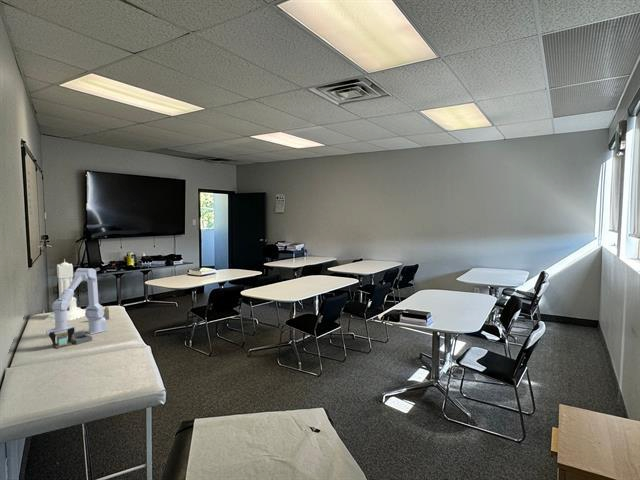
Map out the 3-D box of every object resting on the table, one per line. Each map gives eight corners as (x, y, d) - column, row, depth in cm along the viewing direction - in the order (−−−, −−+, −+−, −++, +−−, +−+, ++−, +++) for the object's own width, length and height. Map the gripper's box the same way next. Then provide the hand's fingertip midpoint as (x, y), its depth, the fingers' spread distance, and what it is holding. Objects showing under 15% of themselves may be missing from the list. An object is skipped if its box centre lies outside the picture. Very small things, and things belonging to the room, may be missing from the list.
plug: (64, 343, 216) (64, 334, 215) (67, 345, 213) (66, 336, 213) (57, 345, 213) (56, 336, 212) (59, 347, 210) (58, 338, 210)
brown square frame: (67, 342, 218) (67, 340, 218) (71, 345, 214) (71, 343, 214) (52, 345, 212) (52, 344, 212) (57, 348, 208) (56, 347, 208)
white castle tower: (93, 316, 274) (90, 258, 271) (47, 324, 254) (43, 261, 251) (84, 309, 294) (82, 255, 291) (41, 316, 274) (38, 257, 271)
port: (83, 336, 229) (83, 330, 229) (92, 340, 221) (91, 334, 221) (68, 339, 222) (68, 333, 222) (76, 344, 215) (76, 338, 214)
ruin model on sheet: (109, 319, 269) (108, 306, 268) (109, 320, 266) (108, 307, 266) (91, 321, 262) (90, 308, 262) (91, 322, 260) (90, 309, 259)
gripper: (72, 316, 220) (73, 338, 221) (43, 322, 209) (44, 345, 210) (77, 318, 216) (78, 340, 217) (47, 324, 204) (49, 347, 205)
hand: (62, 343), depth 213 cm, fingers open, 7 cm apart
